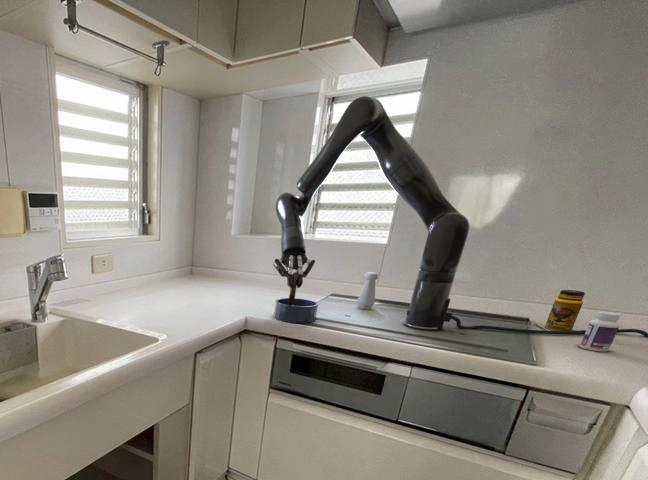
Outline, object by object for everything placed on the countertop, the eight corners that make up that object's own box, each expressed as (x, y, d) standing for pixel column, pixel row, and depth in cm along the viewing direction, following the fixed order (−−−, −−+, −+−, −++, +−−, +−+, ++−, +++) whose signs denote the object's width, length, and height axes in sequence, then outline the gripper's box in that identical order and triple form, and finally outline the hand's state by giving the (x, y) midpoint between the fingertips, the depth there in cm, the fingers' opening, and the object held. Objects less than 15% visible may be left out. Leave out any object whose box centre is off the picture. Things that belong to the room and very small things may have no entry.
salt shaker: (375, 310, 147) (383, 274, 142) (358, 309, 148) (366, 273, 143) (370, 306, 152) (378, 271, 147) (354, 305, 153) (361, 271, 148)
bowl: (315, 315, 138) (317, 300, 136) (315, 325, 126) (318, 308, 124) (275, 312, 142) (277, 296, 140) (272, 321, 131) (274, 304, 128)
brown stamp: (298, 312, 136) (304, 271, 130) (297, 315, 131) (304, 273, 126) (282, 310, 137) (287, 270, 132) (281, 314, 133) (286, 272, 128)
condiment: (548, 331, 122) (564, 292, 118) (535, 324, 130) (550, 287, 125) (579, 334, 120) (596, 294, 115) (564, 327, 127) (580, 289, 123)
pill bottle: (613, 351, 105) (630, 314, 102) (599, 353, 104) (616, 316, 100) (587, 345, 110) (602, 310, 106) (574, 346, 109) (589, 311, 105)
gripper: (274, 235, 132) (275, 278, 126) (317, 235, 131) (321, 280, 124) (269, 250, 139) (270, 292, 133) (310, 251, 138) (313, 293, 131)
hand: (295, 286), depth 129 cm, fingers closed on brown stamp
